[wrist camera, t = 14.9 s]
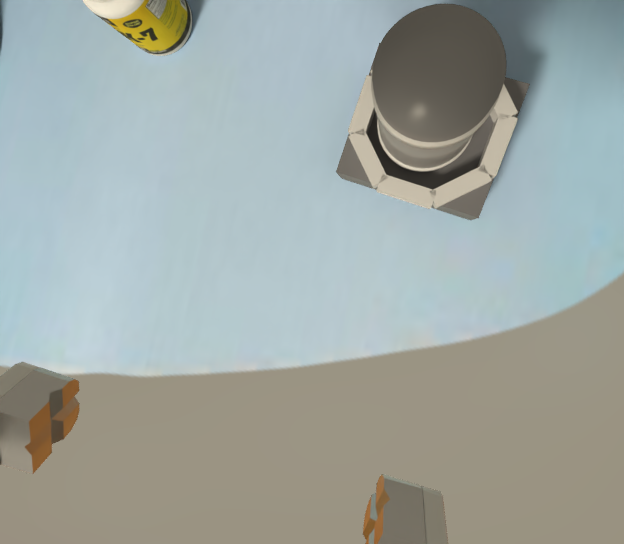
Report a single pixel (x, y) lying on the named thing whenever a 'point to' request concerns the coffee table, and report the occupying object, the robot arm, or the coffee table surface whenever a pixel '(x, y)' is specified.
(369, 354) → the coffee table surface
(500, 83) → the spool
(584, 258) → the coffee table surface
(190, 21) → the supplement bottle
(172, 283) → the coffee table surface
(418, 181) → the octagonal ring tray
